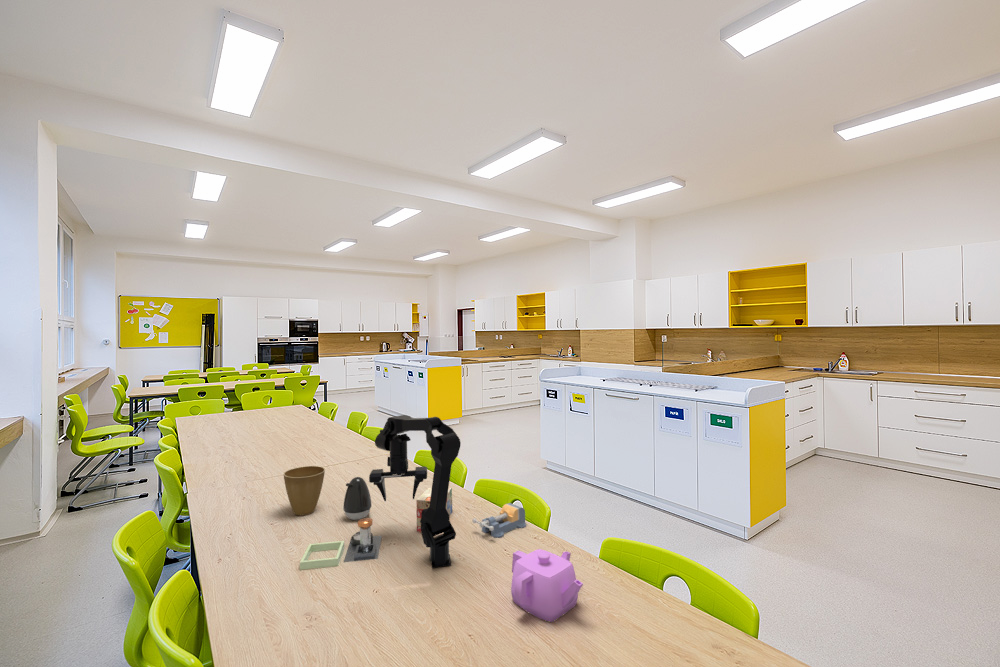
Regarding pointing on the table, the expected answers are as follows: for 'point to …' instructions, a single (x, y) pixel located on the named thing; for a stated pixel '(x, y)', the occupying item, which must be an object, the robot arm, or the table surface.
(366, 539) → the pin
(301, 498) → the plant pot
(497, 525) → the vise
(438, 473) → the robot arm
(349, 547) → the tensioner
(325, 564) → the tray
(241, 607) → the table surface
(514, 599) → the teakettle
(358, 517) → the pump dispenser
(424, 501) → the stack of blocks
